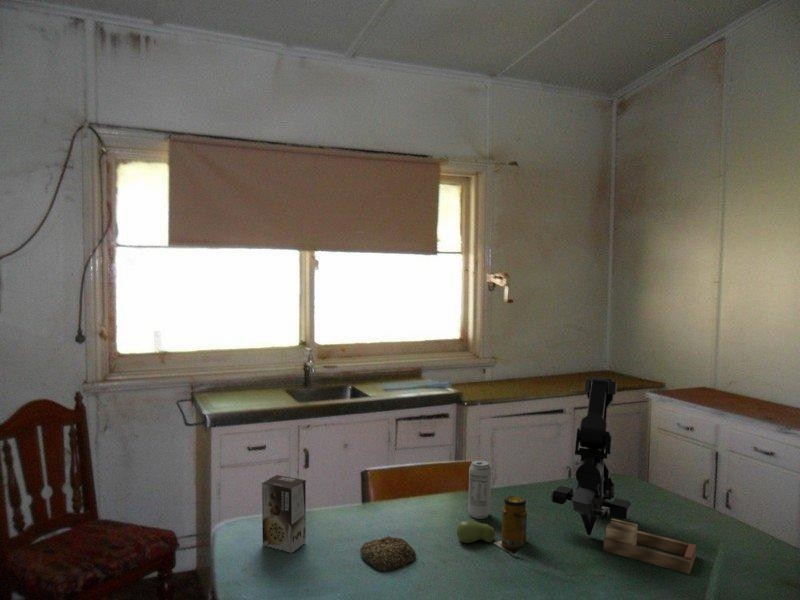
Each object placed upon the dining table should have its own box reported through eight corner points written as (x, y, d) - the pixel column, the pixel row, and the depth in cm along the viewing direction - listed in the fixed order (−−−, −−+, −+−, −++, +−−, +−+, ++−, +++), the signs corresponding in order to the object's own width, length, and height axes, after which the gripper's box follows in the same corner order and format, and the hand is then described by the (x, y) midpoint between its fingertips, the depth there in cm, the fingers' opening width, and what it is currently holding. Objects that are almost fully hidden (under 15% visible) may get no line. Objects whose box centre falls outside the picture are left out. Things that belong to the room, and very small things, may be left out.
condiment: (515, 537, 153) (516, 491, 153) (538, 551, 146) (539, 503, 145) (493, 543, 150) (494, 497, 149) (515, 558, 142) (516, 509, 142)
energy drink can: (493, 513, 167) (494, 461, 166) (484, 521, 162) (485, 467, 161) (473, 508, 171) (475, 457, 170) (464, 516, 165) (465, 463, 165)
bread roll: (375, 576, 134) (376, 554, 134) (354, 551, 145) (354, 532, 145) (425, 563, 140) (425, 542, 139) (400, 541, 151) (401, 522, 150)
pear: (455, 516, 152) (490, 518, 155) (451, 536, 152) (487, 538, 155) (463, 525, 147) (499, 527, 150) (459, 546, 147) (496, 548, 150)
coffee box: (306, 542, 148) (307, 479, 147) (291, 554, 143) (291, 488, 142) (276, 535, 152) (277, 473, 151) (261, 546, 146) (261, 482, 145)
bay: (601, 558, 143) (602, 539, 143) (615, 537, 154) (615, 520, 153) (688, 582, 132) (689, 562, 132) (696, 558, 143) (697, 540, 143)
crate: (605, 547, 146) (606, 526, 145) (611, 537, 151) (612, 517, 150) (631, 554, 142) (632, 532, 142) (636, 544, 147) (637, 523, 147)
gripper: (544, 475, 148) (542, 536, 149) (622, 492, 138) (619, 557, 139) (559, 463, 158) (557, 521, 159) (633, 478, 147) (630, 539, 148)
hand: (589, 534), depth 151 cm, fingers closed
